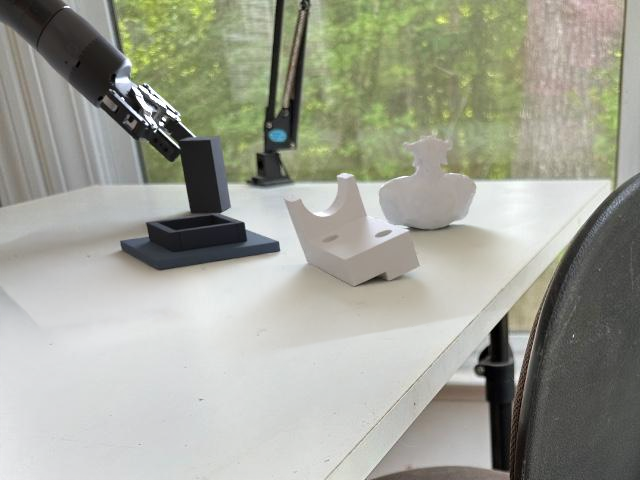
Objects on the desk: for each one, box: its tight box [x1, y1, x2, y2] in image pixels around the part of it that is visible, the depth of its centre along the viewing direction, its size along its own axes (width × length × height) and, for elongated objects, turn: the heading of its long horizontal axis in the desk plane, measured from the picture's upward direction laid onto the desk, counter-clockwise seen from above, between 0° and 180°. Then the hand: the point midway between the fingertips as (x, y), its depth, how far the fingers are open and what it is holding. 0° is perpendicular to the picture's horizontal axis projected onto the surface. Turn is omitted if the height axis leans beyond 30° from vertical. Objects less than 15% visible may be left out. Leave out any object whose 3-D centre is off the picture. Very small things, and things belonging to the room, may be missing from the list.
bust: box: [378, 133, 478, 231], centre depth 106 cm, size 12×8×11 cm
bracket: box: [283, 172, 421, 287], centre depth 90 cm, size 13×7×8 cm, turn 28°
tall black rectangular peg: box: [177, 135, 232, 214], centre depth 124 cm, size 4×4×9 cm
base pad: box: [119, 212, 281, 271], centre depth 102 cm, size 14×14×3 cm
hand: (187, 152), depth 123 cm, fingers open, 8 cm apart
